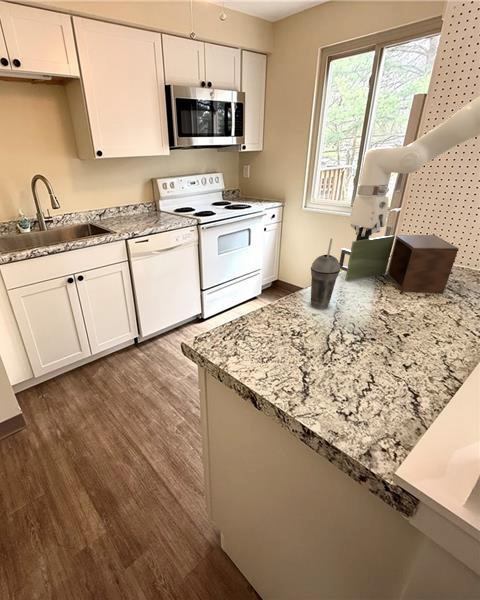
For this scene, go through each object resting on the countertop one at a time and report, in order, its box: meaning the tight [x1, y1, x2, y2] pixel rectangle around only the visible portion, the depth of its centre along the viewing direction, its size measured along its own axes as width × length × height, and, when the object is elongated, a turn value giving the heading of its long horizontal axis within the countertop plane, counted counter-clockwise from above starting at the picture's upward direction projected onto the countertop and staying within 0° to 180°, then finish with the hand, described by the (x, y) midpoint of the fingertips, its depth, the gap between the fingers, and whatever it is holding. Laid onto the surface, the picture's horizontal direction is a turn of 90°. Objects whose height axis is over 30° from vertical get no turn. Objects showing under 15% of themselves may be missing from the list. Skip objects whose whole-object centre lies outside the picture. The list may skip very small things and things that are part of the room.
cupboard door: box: [338, 234, 396, 282], centre depth 106 cm, size 6×15×14 cm, turn 100°
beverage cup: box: [310, 238, 341, 310], centre depth 87 cm, size 7×7×20 cm
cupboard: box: [386, 234, 459, 294], centre depth 96 cm, size 10×15×14 cm
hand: (360, 247), depth 105 cm, fingers closed
